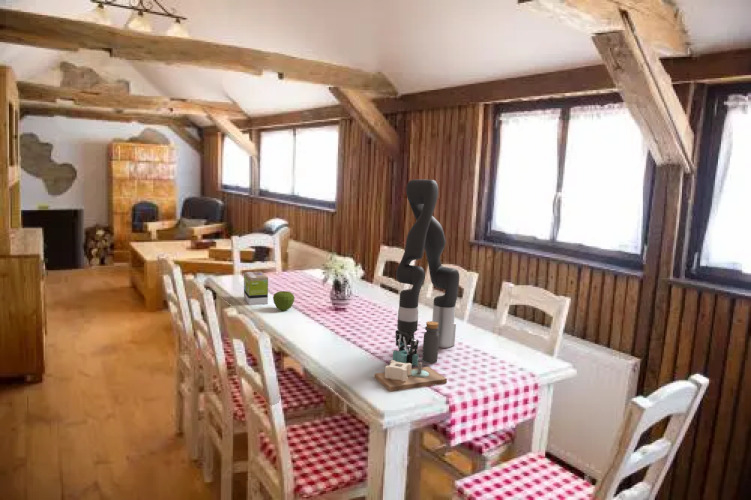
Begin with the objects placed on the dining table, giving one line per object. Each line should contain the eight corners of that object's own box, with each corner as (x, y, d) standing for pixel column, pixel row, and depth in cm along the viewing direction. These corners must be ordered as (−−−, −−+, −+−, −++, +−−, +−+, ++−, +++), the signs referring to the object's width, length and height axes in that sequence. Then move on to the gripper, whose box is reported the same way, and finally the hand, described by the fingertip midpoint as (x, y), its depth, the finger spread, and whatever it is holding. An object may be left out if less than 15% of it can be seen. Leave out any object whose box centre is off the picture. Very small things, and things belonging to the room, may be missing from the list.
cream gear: (390, 370, 187) (391, 359, 186) (411, 374, 184) (412, 363, 184) (383, 378, 179) (384, 366, 179) (405, 382, 177) (406, 370, 176)
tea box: (243, 298, 283) (243, 271, 281) (261, 297, 288) (262, 271, 285) (248, 305, 270) (249, 277, 268) (268, 304, 274) (268, 276, 272)
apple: (292, 313, 259) (292, 293, 258) (270, 312, 259) (271, 292, 258) (295, 307, 270) (296, 288, 268) (275, 306, 270) (275, 287, 269)
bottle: (436, 358, 207) (438, 321, 205) (438, 363, 201) (441, 325, 199) (421, 357, 207) (423, 320, 204) (423, 362, 201) (425, 324, 199)
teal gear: (409, 358, 204) (409, 348, 204) (419, 365, 197) (419, 355, 197) (391, 360, 201) (391, 350, 200) (401, 367, 194) (401, 357, 193)
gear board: (428, 370, 193) (429, 356, 192) (446, 382, 182) (447, 367, 182) (374, 377, 184) (375, 362, 183) (390, 391, 173) (391, 375, 172)
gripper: (426, 322, 192) (423, 366, 194) (407, 312, 204) (404, 353, 207) (408, 324, 188) (405, 369, 191) (390, 313, 201) (387, 355, 204)
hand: (405, 360), depth 199 cm, fingers closed on teal gear, 5 cm apart
